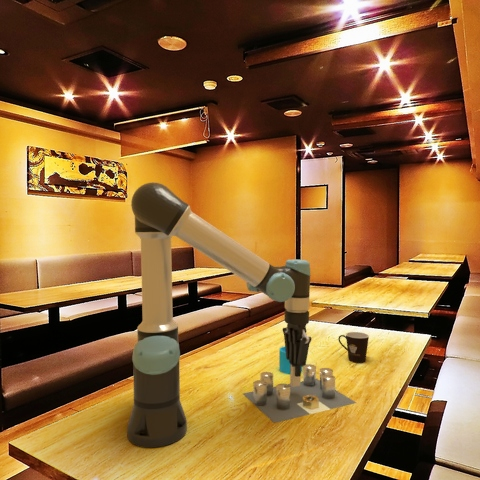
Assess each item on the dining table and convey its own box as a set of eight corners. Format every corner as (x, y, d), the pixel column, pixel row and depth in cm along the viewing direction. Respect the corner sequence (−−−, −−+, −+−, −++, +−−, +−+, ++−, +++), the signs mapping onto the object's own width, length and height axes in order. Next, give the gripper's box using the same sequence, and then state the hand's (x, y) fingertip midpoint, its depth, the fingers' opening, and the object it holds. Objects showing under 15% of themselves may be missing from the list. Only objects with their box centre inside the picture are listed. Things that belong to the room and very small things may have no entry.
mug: (290, 378, 137) (290, 354, 136) (274, 371, 143) (274, 349, 143) (313, 369, 144) (313, 348, 144) (297, 363, 151) (297, 342, 150)
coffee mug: (373, 362, 152) (373, 336, 151) (355, 365, 148) (355, 339, 148) (354, 353, 162) (354, 329, 162) (336, 355, 159) (336, 331, 159)
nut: (307, 410, 112) (307, 403, 112) (299, 403, 116) (299, 397, 116) (322, 406, 114) (322, 399, 114) (313, 400, 118) (313, 393, 118)
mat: (274, 425, 105) (274, 422, 105) (242, 395, 123) (242, 393, 123) (356, 404, 116) (356, 402, 116) (316, 380, 135) (316, 378, 135)
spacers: (265, 414, 109) (265, 393, 109) (243, 394, 122) (243, 375, 122) (345, 395, 121) (345, 376, 121) (318, 379, 134) (318, 362, 133)
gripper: (319, 313, 117) (317, 391, 117) (295, 304, 128) (294, 376, 129) (298, 315, 113) (296, 395, 114) (275, 306, 125) (274, 379, 126)
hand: (295, 385), depth 122 cm, fingers closed
